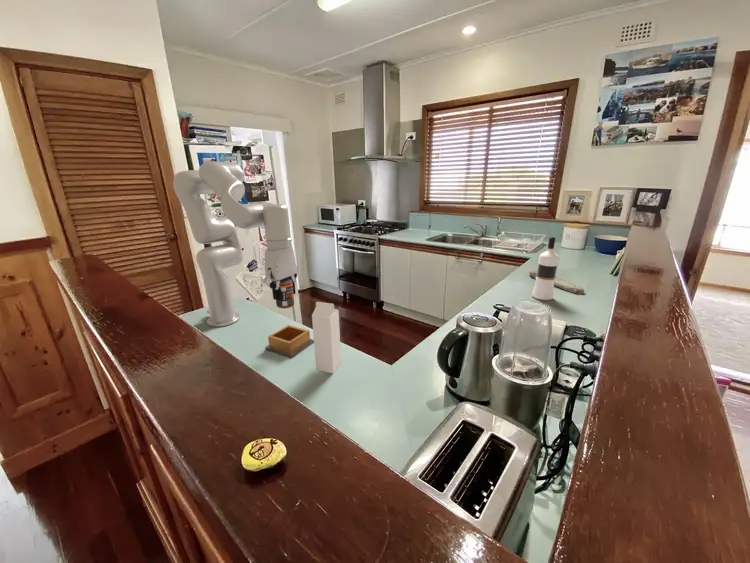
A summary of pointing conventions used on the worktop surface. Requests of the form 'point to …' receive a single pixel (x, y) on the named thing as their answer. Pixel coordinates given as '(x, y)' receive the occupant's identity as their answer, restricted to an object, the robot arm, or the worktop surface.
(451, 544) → the worktop surface
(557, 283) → the elongated rock
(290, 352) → the square wooden tray
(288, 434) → the worktop surface
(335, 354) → the milk
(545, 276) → the vodka
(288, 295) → the supplement bottle
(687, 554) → the worktop surface
